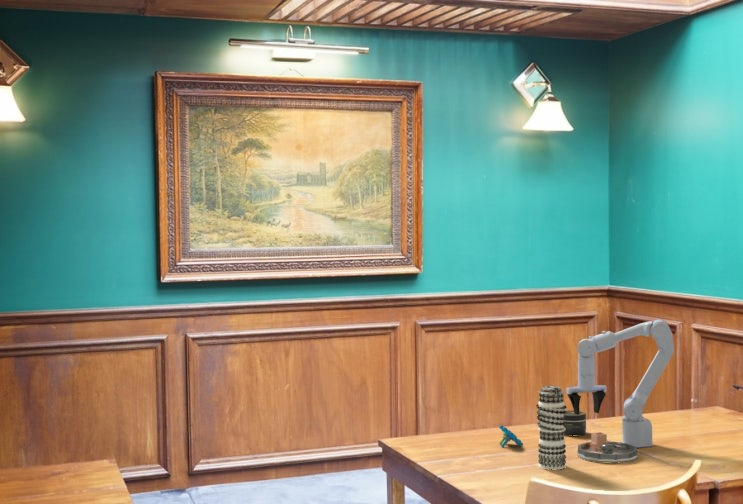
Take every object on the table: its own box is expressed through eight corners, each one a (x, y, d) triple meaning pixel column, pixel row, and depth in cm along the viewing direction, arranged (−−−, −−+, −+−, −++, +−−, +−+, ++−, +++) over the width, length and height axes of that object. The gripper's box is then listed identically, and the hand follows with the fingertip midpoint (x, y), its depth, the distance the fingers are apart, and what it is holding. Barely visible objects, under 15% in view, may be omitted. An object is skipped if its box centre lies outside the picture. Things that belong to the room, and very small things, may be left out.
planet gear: (602, 446, 314) (601, 431, 314) (610, 449, 309) (610, 434, 309) (587, 447, 313) (587, 432, 312) (596, 451, 307) (595, 436, 307)
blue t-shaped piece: (528, 444, 317) (506, 424, 317) (516, 457, 316) (495, 437, 316) (518, 442, 328) (497, 422, 328) (507, 454, 327) (486, 435, 327)
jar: (565, 429, 347) (565, 409, 347) (591, 432, 341) (590, 411, 341) (553, 434, 339) (553, 413, 339) (579, 438, 333) (579, 416, 333)
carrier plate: (617, 447, 318) (617, 431, 317) (649, 460, 299) (649, 443, 299) (566, 452, 312) (566, 436, 312) (596, 465, 294) (596, 448, 294)
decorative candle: (561, 471, 287) (560, 390, 286) (532, 468, 292) (531, 388, 291) (571, 465, 295) (570, 385, 294) (543, 461, 300) (542, 383, 299)
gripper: (599, 371, 329) (599, 409, 330) (561, 373, 325) (562, 412, 325) (609, 374, 323) (610, 413, 323) (571, 376, 318) (572, 416, 319)
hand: (586, 413), depth 324 cm, fingers open, 7 cm apart
